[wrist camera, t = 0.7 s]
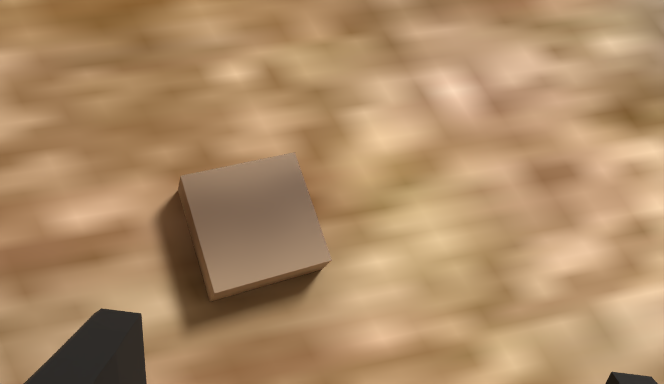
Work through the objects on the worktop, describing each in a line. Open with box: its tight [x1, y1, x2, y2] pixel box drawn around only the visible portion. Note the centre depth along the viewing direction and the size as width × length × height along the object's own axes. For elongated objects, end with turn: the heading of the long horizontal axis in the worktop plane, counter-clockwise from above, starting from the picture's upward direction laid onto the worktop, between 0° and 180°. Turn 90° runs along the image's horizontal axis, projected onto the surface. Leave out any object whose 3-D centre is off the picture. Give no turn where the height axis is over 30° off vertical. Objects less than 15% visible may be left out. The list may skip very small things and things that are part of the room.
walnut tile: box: [178, 152, 332, 302], centre depth 27 cm, size 5×5×2 cm
